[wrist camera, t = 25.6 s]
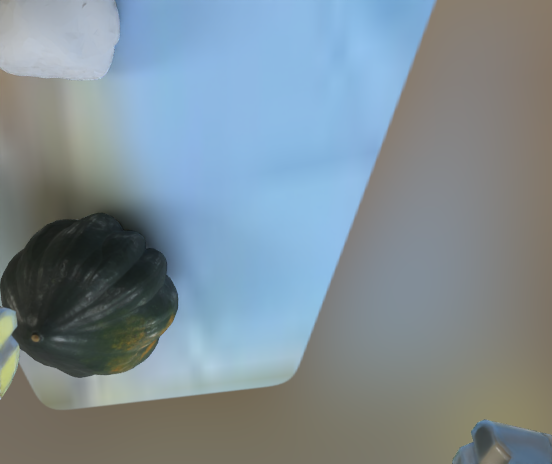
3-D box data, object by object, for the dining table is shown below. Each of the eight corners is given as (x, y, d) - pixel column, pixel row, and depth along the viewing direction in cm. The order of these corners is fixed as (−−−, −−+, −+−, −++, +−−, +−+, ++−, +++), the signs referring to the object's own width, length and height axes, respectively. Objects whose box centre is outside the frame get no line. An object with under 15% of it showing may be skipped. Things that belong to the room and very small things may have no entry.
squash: (127, 388, 53) (118, 429, 38) (-7, 320, 50) (-72, 336, 36) (196, 269, 56) (211, 266, 41) (71, 199, 53) (41, 169, 39)
